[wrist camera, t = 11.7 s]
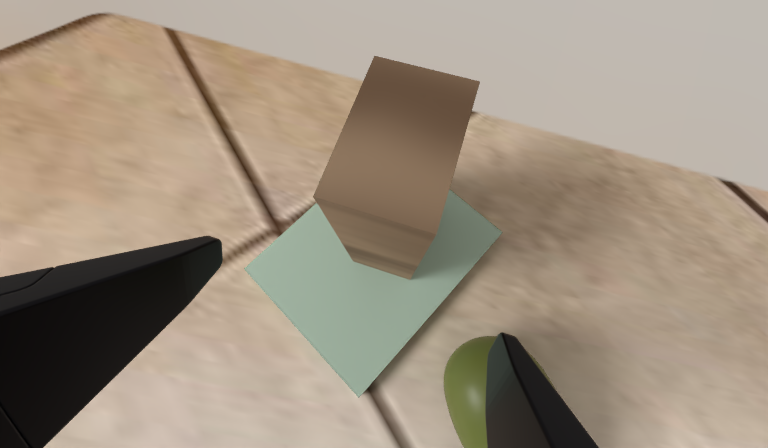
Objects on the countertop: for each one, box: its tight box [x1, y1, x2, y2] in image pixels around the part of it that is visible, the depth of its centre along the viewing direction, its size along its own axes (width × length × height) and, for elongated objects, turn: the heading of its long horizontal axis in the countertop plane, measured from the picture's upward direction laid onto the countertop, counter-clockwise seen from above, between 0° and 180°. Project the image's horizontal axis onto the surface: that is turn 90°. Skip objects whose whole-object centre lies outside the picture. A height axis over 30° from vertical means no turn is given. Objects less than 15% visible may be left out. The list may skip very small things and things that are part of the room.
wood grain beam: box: [313, 56, 480, 280], centre depth 15 cm, size 6×4×11 cm, turn 162°
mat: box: [244, 189, 503, 397], centre depth 20 cm, size 14×11×1 cm
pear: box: [444, 336, 555, 448], centre depth 15 cm, size 6×5×10 cm
